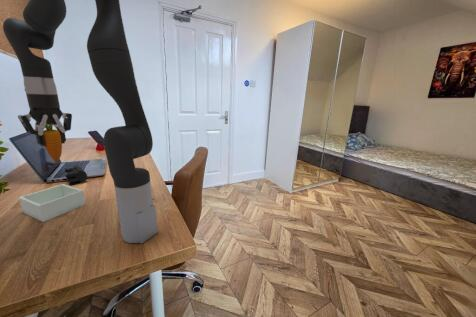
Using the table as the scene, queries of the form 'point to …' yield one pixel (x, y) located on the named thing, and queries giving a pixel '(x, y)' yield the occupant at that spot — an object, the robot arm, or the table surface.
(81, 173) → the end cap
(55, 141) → the carrot
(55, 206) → the bin
